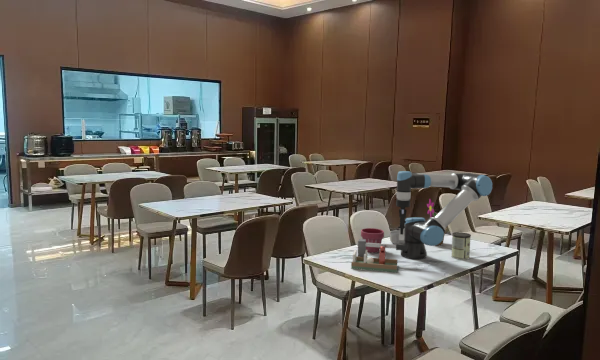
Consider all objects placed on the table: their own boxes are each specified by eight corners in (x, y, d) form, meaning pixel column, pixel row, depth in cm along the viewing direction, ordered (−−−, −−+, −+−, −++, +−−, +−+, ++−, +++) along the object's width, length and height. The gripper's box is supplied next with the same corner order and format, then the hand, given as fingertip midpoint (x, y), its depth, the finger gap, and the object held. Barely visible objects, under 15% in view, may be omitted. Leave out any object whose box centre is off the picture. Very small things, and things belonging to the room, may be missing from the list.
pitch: (397, 262, 253) (398, 241, 251) (396, 272, 236) (397, 249, 234) (354, 259, 258) (355, 238, 257) (351, 268, 241) (351, 246, 240)
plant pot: (386, 253, 271) (386, 233, 269) (363, 254, 270) (363, 233, 268) (380, 247, 285) (380, 227, 283) (358, 247, 284) (358, 228, 282)
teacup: (406, 246, 289) (406, 234, 288) (389, 245, 291) (389, 233, 290) (405, 240, 303) (406, 229, 302) (389, 239, 305) (389, 228, 304)
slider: (406, 260, 250) (407, 243, 249) (406, 267, 238) (407, 249, 237) (357, 256, 257) (357, 239, 256) (354, 263, 244) (355, 245, 243)
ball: (373, 263, 246) (374, 256, 246) (373, 265, 242) (373, 258, 242) (366, 262, 247) (366, 255, 247) (366, 264, 243) (366, 257, 243)
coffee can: (452, 254, 272) (453, 231, 270) (470, 256, 268) (471, 233, 266) (450, 258, 263) (451, 234, 261) (468, 260, 258) (470, 236, 257)
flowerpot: (420, 241, 303) (422, 197, 299) (440, 240, 304) (442, 197, 301) (428, 246, 288) (430, 200, 285) (449, 246, 290) (452, 200, 286)
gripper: (396, 195, 259) (395, 231, 261) (395, 202, 234) (394, 242, 237) (410, 196, 257) (408, 232, 259) (410, 203, 233) (408, 243, 235)
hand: (401, 237), depth 248 cm, fingers open, 13 cm apart
